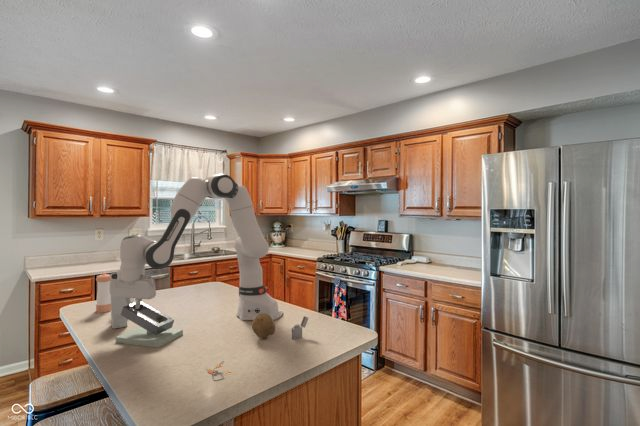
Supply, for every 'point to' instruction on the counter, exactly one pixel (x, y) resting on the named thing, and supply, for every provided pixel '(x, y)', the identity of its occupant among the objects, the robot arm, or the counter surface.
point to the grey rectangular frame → (145, 322)
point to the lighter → (299, 329)
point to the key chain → (217, 371)
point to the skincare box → (117, 312)
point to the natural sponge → (263, 326)
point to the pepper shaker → (103, 293)
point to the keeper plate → (148, 337)
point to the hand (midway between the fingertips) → (132, 308)
